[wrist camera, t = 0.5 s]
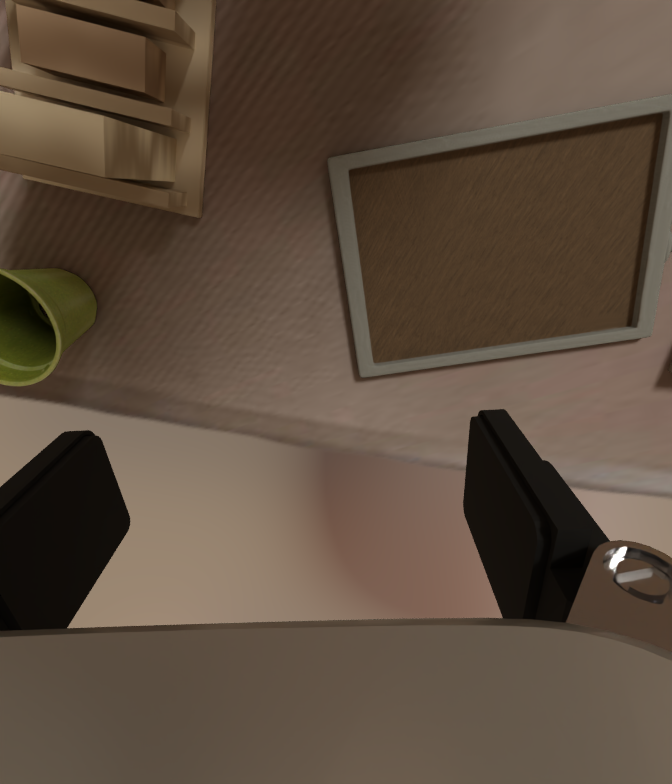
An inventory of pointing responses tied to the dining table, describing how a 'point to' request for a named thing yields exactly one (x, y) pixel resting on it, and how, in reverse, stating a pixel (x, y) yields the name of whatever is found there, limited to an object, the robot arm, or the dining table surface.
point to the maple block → (83, 141)
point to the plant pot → (40, 321)
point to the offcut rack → (131, 96)
